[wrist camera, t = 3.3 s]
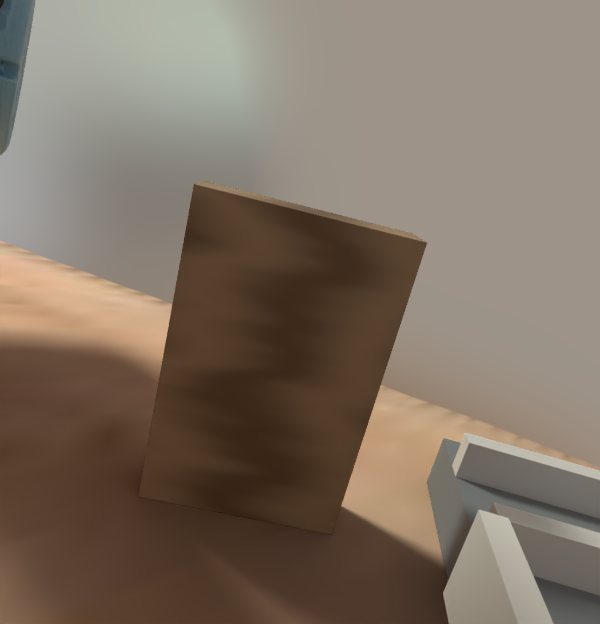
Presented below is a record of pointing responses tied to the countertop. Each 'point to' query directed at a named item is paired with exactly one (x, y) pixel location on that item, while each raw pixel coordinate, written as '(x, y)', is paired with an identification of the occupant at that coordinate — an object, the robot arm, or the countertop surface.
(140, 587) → the countertop surface
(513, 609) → the robot arm
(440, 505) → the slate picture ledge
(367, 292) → the walnut photo frame
